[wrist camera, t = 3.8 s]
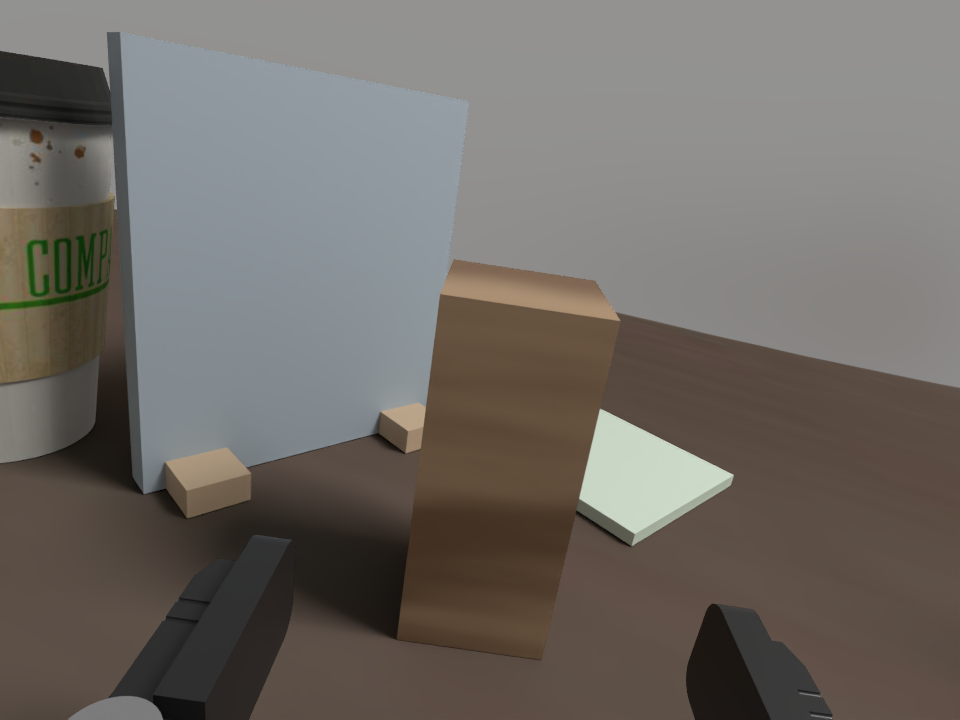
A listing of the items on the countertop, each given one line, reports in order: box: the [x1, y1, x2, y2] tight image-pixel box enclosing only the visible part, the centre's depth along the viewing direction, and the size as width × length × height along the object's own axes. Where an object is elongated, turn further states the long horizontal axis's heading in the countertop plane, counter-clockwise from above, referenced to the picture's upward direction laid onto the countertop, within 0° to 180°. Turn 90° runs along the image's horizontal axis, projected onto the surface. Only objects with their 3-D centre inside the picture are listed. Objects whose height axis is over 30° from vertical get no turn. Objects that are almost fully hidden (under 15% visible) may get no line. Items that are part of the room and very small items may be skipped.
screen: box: [107, 32, 469, 518], centre depth 26 cm, size 14×6×16 cm, turn 133°
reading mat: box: [577, 409, 734, 546], centre depth 31 cm, size 9×9×1 cm
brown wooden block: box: [397, 260, 620, 660], centre depth 19 cm, size 4×5×11 cm
